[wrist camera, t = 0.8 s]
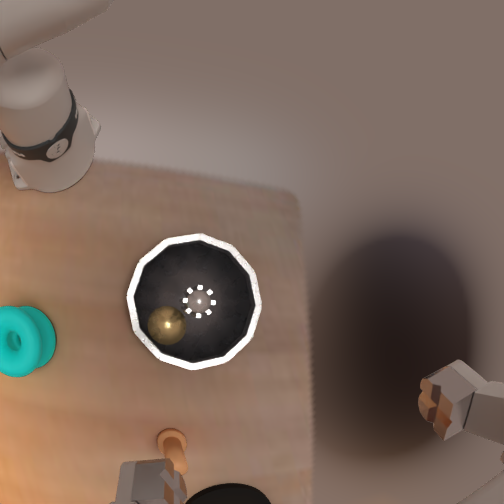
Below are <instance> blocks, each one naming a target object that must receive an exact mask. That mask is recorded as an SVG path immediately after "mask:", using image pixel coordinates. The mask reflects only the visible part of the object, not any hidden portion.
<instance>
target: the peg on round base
mask: <svg viewBox="0 0 504 504" xmlns="http://www.w3.org/2000/svg"><path fill="white" fill-rule="evenodd" d="M157 443H158V448H159V450H160V451H161V452H162V453H163V454H165V458H170V460H171V461H172V462H173V464H174V470H176V471H178V472H180V474H181V475H183V474H185V473H186V472H187V470H188V465H187V462H186V458H185V455H184V451H185V450H186V447H187V443H186V439H185V436H184V435H183V434H182V433H181V432H180V431H179V430H176V429H165V430H163V431H162V432H161V433H160V434H159V435H158V438H157Z"/></svg>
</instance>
